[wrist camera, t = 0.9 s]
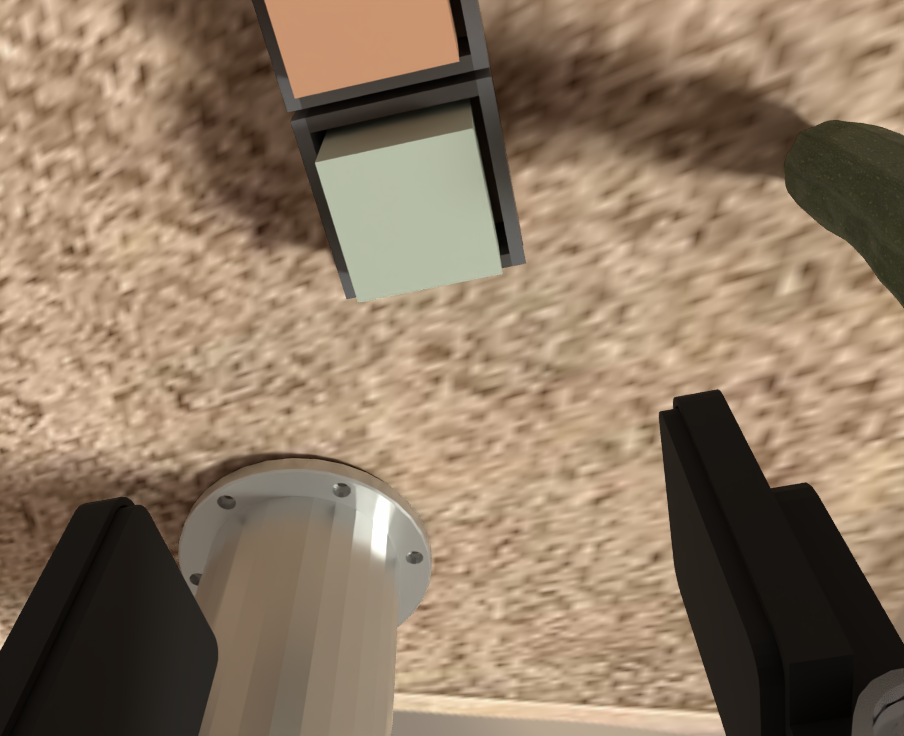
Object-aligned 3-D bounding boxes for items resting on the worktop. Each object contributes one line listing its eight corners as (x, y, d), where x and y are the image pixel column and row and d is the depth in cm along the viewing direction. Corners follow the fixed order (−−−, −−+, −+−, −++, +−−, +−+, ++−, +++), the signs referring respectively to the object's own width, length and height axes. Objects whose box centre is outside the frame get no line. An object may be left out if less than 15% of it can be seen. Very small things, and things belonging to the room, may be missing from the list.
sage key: (495, 227, 32) (502, 273, 28) (366, 253, 32) (358, 302, 29) (469, 94, 29) (473, 128, 26) (329, 125, 30) (314, 162, 26)
